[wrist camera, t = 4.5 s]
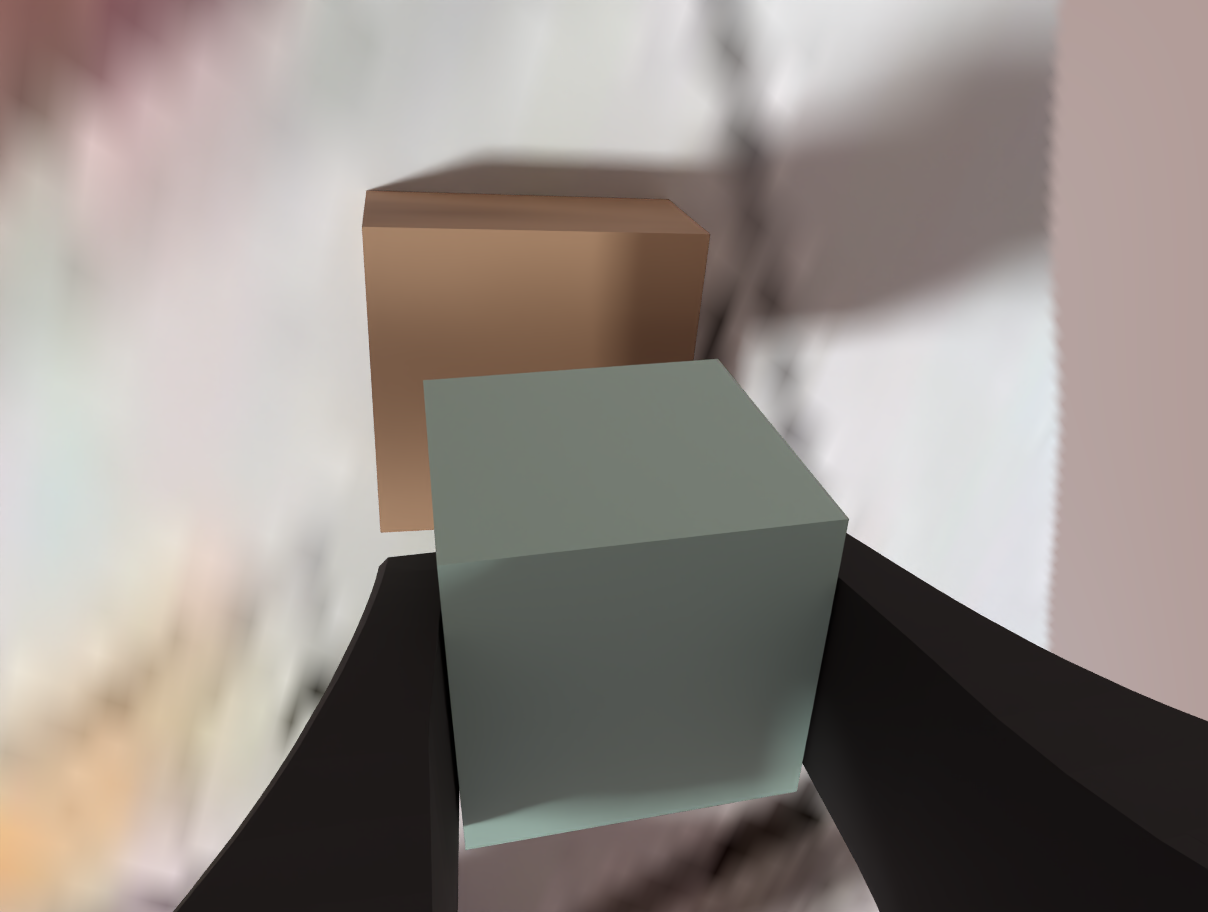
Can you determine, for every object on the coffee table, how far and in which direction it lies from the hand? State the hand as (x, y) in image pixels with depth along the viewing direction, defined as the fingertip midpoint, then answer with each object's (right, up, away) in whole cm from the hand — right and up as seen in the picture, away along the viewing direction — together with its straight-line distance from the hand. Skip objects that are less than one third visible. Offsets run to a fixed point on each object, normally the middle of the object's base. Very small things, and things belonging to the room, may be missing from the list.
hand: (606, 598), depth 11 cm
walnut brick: (-2, +4, +8) cm, 9 cm away
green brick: (0, +1, +2) cm, 2 cm away
